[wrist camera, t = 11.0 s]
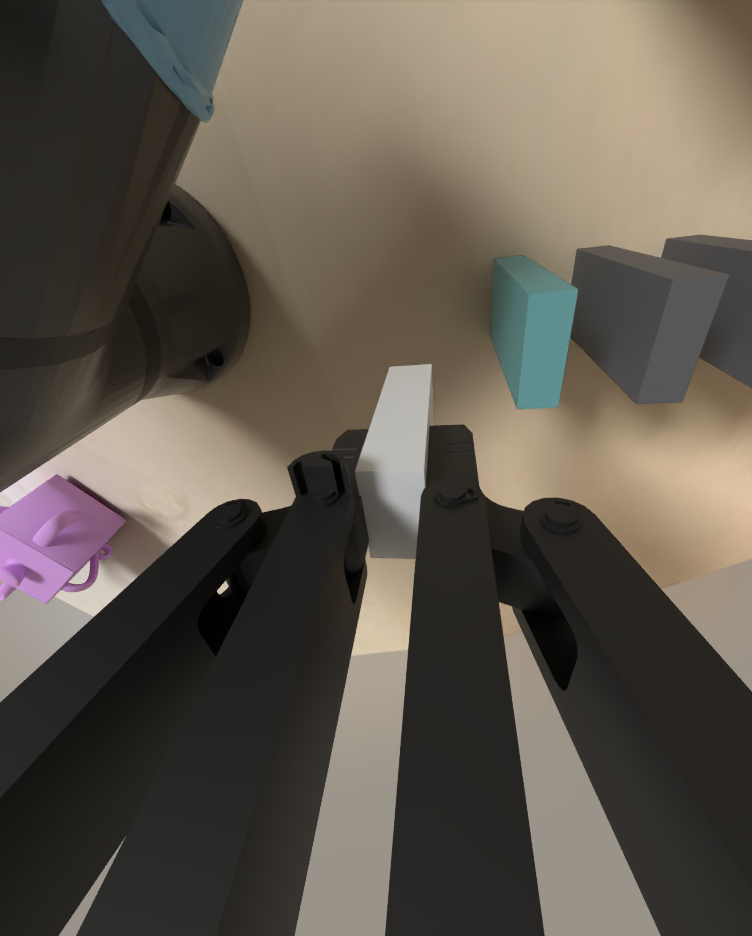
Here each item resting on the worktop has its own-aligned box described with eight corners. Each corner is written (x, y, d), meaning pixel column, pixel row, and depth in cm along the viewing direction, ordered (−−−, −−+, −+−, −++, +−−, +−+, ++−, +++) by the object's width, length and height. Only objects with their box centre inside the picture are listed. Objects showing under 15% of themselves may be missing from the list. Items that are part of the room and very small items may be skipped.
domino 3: (643, 324, 25) (769, 398, 16) (666, 238, 22) (837, 263, 13) (673, 321, 25) (820, 395, 15) (700, 234, 22) (902, 257, 12)
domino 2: (563, 330, 26) (636, 404, 17) (577, 249, 23) (673, 280, 14) (591, 328, 26) (681, 402, 16) (608, 245, 23) (729, 274, 13)
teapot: (103, 570, 53) (40, 637, 44) (3, 510, 48) (-88, 573, 40) (159, 514, 44) (94, 585, 36) (43, 434, 39) (-62, 494, 31)
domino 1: (490, 336, 27) (516, 409, 17) (494, 258, 24) (528, 294, 15) (516, 334, 27) (558, 407, 17) (523, 255, 24) (578, 289, 14)
